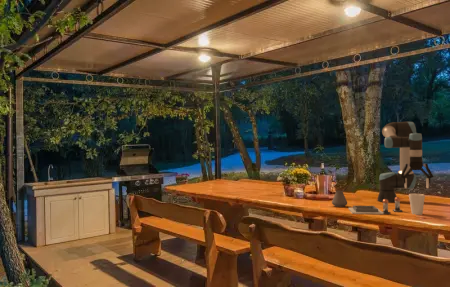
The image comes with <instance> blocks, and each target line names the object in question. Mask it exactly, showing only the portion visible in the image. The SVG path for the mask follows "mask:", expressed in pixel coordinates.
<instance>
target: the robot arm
mask: <svg viewBox="0 0 450 287" xmlns="http://www.w3.org/2000/svg"><path fill="white" fill-rule="evenodd" d="M381 134H382V135H383V137H385V138H384V141H383V142H384V143H383V144H384V147H385V148H387V149H392V148H393V149H394V148H395V149H399V170H398V171H397V173H395V172H394V171H393V172H383V173H380V175H379V179H378V181H379V193H378V196H377V202H380V203H383V200H384V199H387V200H388V203H395V198H396V197H398V196H397V194H396V189H398V190H399V189H400V190H401V189H403V190H405V189H406V190H410V189H412V190H413V189H414V188H415V186H416V182H417V175H416V174H415V173H414V171H420V172H422V174H423V175H424V176H425V177H426V178H425V183H426V184H425V185H426V186H425V187H426V189H430V184H431V178H434V175H433V173H432V171H431V170H430V168H429V164H428V163H423V136H422V133H418V132H417V128H416V125H415V123H414V122H413V121H400V122H399V121H395V122H394V121H392V122H389V123H386V124H385V125H384V127H382V129H381ZM423 167H424V168H425V170H426V171H427V172H426V171H425V170H424V169H423Z"/></svg>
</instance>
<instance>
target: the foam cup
mask: <svg viewBox="0 0 450 287" xmlns="http://www.w3.org/2000/svg"><path fill="white" fill-rule="evenodd" d="M408 198H409V204H410V210H411V214H412V215H414V214H415V215H416V216H422V215H424V214H423V212H424V205H425V204H424V203H425V198H426V196H425V194H422V193H409V194H408ZM415 215H414V216H415Z"/></svg>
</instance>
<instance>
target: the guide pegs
mask: <svg viewBox="0 0 450 287" xmlns="http://www.w3.org/2000/svg"><path fill="white" fill-rule="evenodd" d="M400 202H401V198H400V197H398V196H397V197H396V198H395V202H394V209H392V212H393V211H394V213H403V209H401V204H400ZM382 204H383V205H382V209H383V211H382V212H383V213H384V215H388V216H389V215H391V211H389V202H388V200H387V199H384V200H383V202H382Z"/></svg>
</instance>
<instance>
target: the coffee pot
mask: <svg viewBox="0 0 450 287" xmlns="http://www.w3.org/2000/svg"><path fill="white" fill-rule="evenodd" d="M349 187H351V186H350V185H349V184H348V185H346V186H345V187H344V188H343V189H341V188H335V189H334V191H335V192H334V195H333V198H332V200H331V204H332V205H333V206H334V207H336V208H343V207H344V208H345V207H346V206H347V205H348V201H347V199H346V196H345V193H344V192H345V191H346V190H348V188H349Z"/></svg>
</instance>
